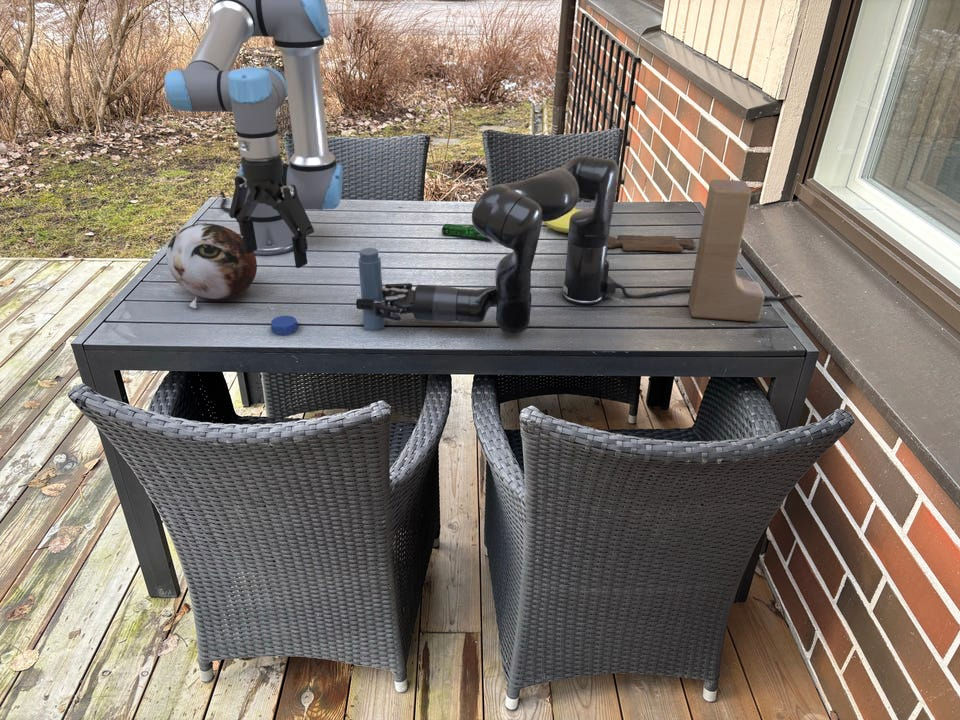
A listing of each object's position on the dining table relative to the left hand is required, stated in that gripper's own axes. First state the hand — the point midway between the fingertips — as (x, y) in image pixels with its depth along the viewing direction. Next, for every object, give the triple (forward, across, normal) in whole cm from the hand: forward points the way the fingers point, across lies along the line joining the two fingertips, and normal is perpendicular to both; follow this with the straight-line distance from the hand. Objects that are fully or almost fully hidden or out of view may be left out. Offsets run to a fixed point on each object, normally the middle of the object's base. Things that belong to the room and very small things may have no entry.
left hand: (276, 258), depth 148 cm
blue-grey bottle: (+16, +16, +10) cm, 25 cm away
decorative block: (+16, +82, +55) cm, 100 cm away
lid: (+14, +1, -1) cm, 15 cm away
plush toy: (+17, -24, +4) cm, 30 cm away
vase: (+18, +30, +88) cm, 95 cm away
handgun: (+18, +8, +72) cm, 75 cm away
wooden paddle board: (+18, +55, +87) cm, 104 cm away
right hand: (+10, +14, +9) cm, 19 cm away
